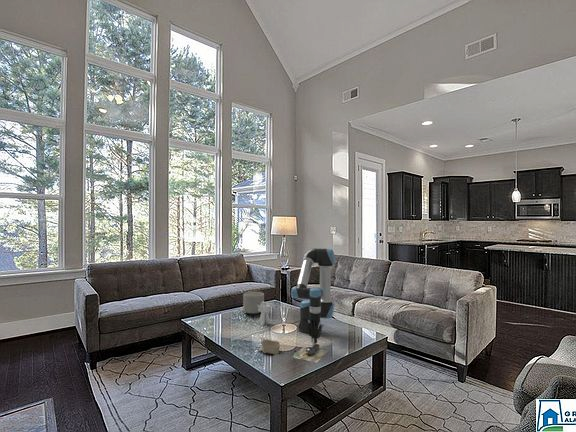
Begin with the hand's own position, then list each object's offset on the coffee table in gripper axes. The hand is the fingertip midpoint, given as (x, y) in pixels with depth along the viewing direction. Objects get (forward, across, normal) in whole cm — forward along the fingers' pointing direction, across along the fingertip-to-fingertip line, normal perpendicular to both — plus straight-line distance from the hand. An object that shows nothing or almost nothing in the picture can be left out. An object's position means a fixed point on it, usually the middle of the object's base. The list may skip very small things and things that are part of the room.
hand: (314, 347), depth 213 cm
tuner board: (+3, +3, -8) cm, 9 cm away
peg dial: (+1, +3, -8) cm, 8 cm away
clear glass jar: (+4, -65, +17) cm, 67 cm away
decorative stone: (+3, -20, -22) cm, 30 cm away
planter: (+4, -93, +29) cm, 98 cm away
